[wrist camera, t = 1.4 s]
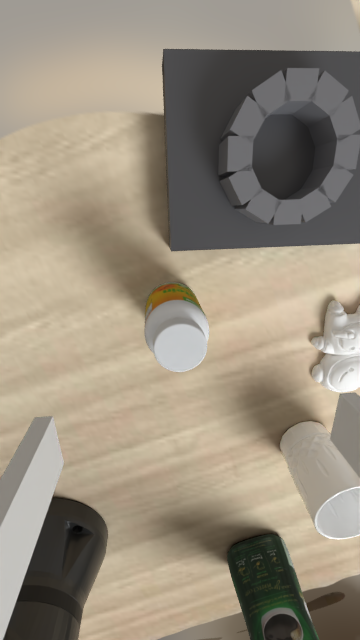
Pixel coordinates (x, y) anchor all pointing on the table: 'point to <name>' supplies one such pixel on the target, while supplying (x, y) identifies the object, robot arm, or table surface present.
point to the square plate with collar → (261, 148)
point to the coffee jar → (269, 590)
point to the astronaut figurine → (339, 350)
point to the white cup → (323, 480)
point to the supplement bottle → (176, 327)
